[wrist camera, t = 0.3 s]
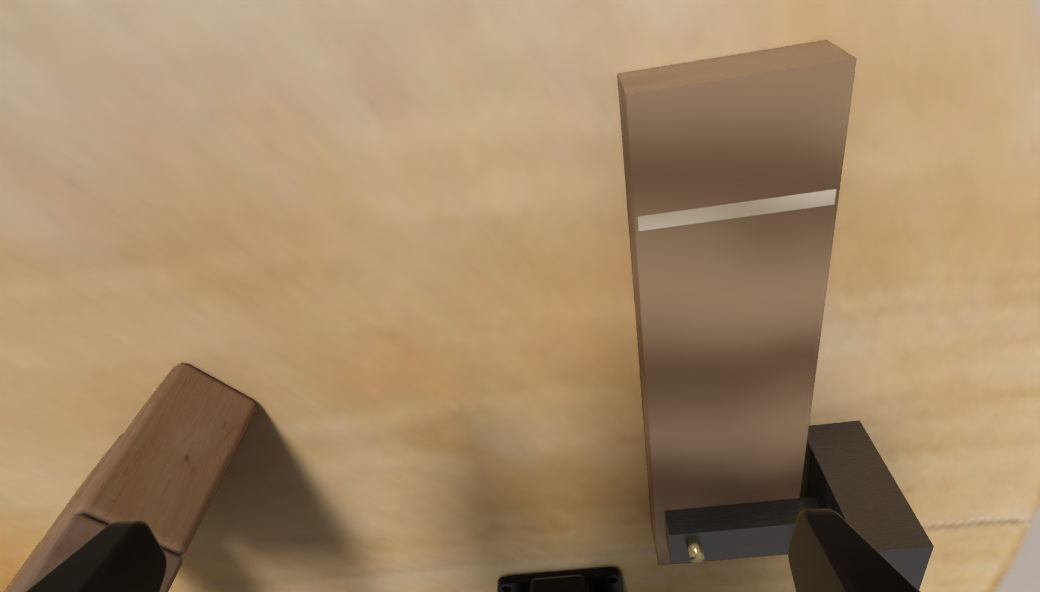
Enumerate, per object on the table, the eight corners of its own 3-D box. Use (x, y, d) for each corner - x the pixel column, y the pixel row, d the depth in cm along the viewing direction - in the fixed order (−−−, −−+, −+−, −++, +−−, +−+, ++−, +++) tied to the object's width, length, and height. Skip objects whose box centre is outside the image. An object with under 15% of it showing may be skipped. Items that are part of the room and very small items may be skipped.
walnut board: (778, 516, 31) (792, 554, 29) (651, 527, 31) (658, 565, 30) (826, 40, 18) (857, 58, 17) (617, 73, 19) (625, 94, 17)
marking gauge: (842, 508, 30) (903, 635, 25) (659, 525, 31) (684, 651, 26) (859, 420, 27) (933, 546, 22) (654, 441, 28) (681, 567, 23)
